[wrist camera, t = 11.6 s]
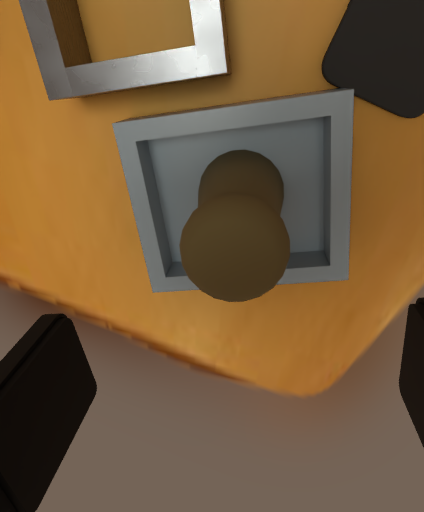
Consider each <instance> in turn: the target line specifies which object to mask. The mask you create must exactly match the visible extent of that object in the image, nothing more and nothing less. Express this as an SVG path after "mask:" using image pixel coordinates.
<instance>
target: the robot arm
mask: <svg viewBox="0 0 424 512" xmlns="http://www.w3.org/2000/svg"><path fill="white" fill-rule="evenodd" d="M399 387H400V393H401V396H402V398H403V401H404V403H405V405H406V408H407V410H408V412H409V415H410V417H411V419H412V422H413V424H414V426H415V428H416V431H417V433H418V435H419V438H420V440H421V443H422V445H423V447H424V298H418V299H417V301H416V304H410V305H409V308H408V316H407V324H406V331H405V339H404V347H403V354H402V362H401V370H400V377H399ZM96 391H97V385H96V381H95V379H94V376H93V374H92V371H91V368H90V366H89V363H88V361H87V358H86V355H85V353H84V351H83V348H82V345H81V343H80V340H79V337H78V335H77V332H76V330H75V327H74V325H73V322H72V320H71V319H69V318H67V316H66V315H64V314H45V315H42V316H41V317H40V318H39V319H38V320H37V321H36V322H35V323H34V324H33V326H32V327H31V328H30V329H29V330H28V331H27V332H26V333H25V334H24V336H23V337H22V338H21V339H20V340H19V341H18V342H17V343H16V344H15V346H14V347H13V348H12V349H11V350H10V351H9V352H8V353H7V355H6V356H5V357H4V358H3V359H2V360H1V361H0V512H35V511H36V510H37V508H38V507H39V505H40V503H41V501H42V499H43V497H44V495H45V493H46V491H47V489H48V487H49V485H50V483H51V481H52V479H53V477H54V475H55V473H56V472H57V470H58V468H59V466H60V464H61V462H62V460H63V458H64V456H65V454H66V452H67V450H68V448H69V446H70V444H71V442H72V440H73V438H74V436H75V434H76V432H77V430H78V429H79V426H80V424H81V423H82V421H83V419H84V417H85V415H86V413H87V411H88V409H89V406H90V405H91V403H92V401H93V399H94V397H95V395H96Z"/></svg>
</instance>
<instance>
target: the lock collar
mask: <svg viewBox="0 0 424 512" xmlns="http://www.w3.org/2000/svg"><path fill="white" fill-rule="evenodd" d="M189 1H190V8H191V16H192V23H193V31H194V38H195V46H189V47H183V48H177V49H171V50H165V51H160V52H154V53H148V54H142V55H136V56H130V57H125V58H119V59H113V60H107V61H101V62H95V63H92V62H91V58H90V54H89V50H88V46H87V42H86V38H85V34H84V30H83V26H82V21H81V17H80V13H79V9H78V5H77V1H76V0H19V3H20V6H21V9H22V13H23V16H24V19H25V22H26V26H27V29H28V32H29V36H30V39H31V42H32V45H33V49H34V52H35V55H36V59H37V62H38V65H39V68H40V72H41V75H42V78H43V82H44V85H45V88H46V91H47V95H48V98H49V100H59V99H70V98H80V97H87V96H93V95H99V94H106V93H112V92H119V91H125V90H131V89H138V88H144V87H151V86H157V85H163V84H170V83H176V82H182V81H189V80H195V79H202V78H208V77H214V76H221V75H227V74H231V68H230V58H229V49H228V39H227V29H226V19H225V9H224V0H189Z"/></svg>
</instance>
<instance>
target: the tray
mask: <svg viewBox="0 0 424 512" xmlns="http://www.w3.org/2000/svg"><path fill="white" fill-rule="evenodd" d="M353 108H354V89H346V88H337V89H330V90H323V91H316V92H309V93H302V94H295V95H288V96H281V97H274V98H267V99H260V100H254V101H247V102H240V103H233V104H226V105H219V106H212V107H205V108H198V109H191V110H184V111H177V112H170V113H163V114H156V115H149V116H142V117H135V118H129V119H126V120H122V121H119V122H116V123H112V125H113V129H114V133H115V137H116V142H117V146H118V150H119V154H120V158H121V162H122V166H123V171H124V175H125V179H126V183H127V187H128V191H129V195H130V200H131V204H132V208H133V212H134V216H135V220H136V224H137V229H138V233H139V237H140V241H141V245H142V249H143V253H144V258H145V262H146V266H147V270H148V274H149V278H150V282H151V286H152V291H153V293H154V292H169V291H185V290H200V289H199V288H198V287H197V286H196V285H195V284H194V283H193V282H192V281H191V280H190V279H189V278H188V276H187V274H186V272H185V270H184V268H183V266H182V261H181V255H180V247H179V244H180V239H181V234H182V229H183V228H184V226H185V224H186V222H187V221H188V219H189V217H190V216H191V214H192V212H193V211H194V210H195V209H197V208H198V190H199V185H200V180H201V176H202V174H203V173H204V171H205V169H206V168H207V166H208V165H209V164H210V163H211V162H212V161H213V160H214V159H215V158H217V157H218V156H219V155H222V154H224V153H226V152H229V151H232V150H244V149H246V150H250V151H254V152H258V153H260V154H262V155H263V156H265V157H266V158H268V159H269V160H271V161H272V163H273V164H274V165H275V166H276V168H277V169H278V170H279V172H280V175H281V177H282V180H283V183H284V199H283V204H282V209H281V214H280V217H281V218H282V219H283V221H284V224H285V226H286V229H287V232H288V235H289V238H290V258H289V261H288V263H287V266H286V269H285V272H284V274H283V276H282V278H281V279H280V280H279V281H278V283H277V284H276V285H278V284H294V283H309V282H325V281H340V280H348V275H349V242H350V208H351V175H352V141H353Z"/></svg>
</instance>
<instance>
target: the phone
mask: <svg viewBox="0 0 424 512" xmlns="http://www.w3.org/2000/svg"><path fill="white" fill-rule="evenodd" d="M347 7H348V8H347V10H346V12H345V14H344V16H343V18H342V20H341V22H340V24H339V26H338V28H337V30H336V32H335V35H334V37H333V39H332V41H331V43H330V45H329V47H328V49H327V51H326V53H325V56H324V58H323V62H322V74H323V76H324V78H325V79H326V80H327V81H328V82H329V83H330V84H332V85H334V86H336V87H338V88H346V89H354V95H355V96H357V97H359V98H361V99H364V100H366V101H368V102H370V103H372V104H374V105H376V106H379V107H381V108H383V109H385V110H387V111H389V112H392V113H394V114H396V115H398V116H401V117H405V118H415V117H418V116H420V115H422V114H423V113H424V0H350V2H349V4H348V6H347Z"/></svg>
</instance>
